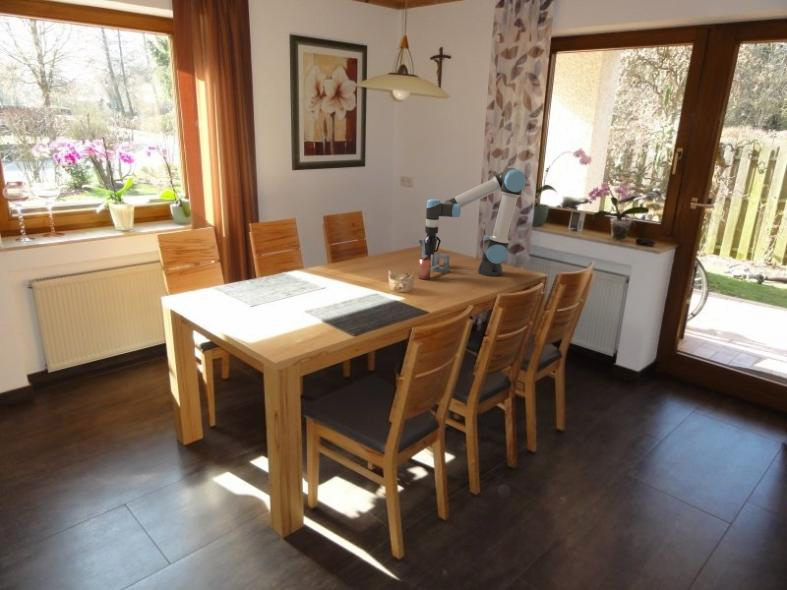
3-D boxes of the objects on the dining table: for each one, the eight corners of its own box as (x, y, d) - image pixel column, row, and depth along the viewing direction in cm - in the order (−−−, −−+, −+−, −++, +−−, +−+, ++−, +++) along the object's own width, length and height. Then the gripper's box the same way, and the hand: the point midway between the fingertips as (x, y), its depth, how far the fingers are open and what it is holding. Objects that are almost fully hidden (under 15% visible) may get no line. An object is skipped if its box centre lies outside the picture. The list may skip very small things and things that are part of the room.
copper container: (443, 272, 337) (444, 253, 334) (426, 279, 320) (427, 260, 316) (433, 270, 341) (434, 251, 337) (416, 277, 323) (417, 258, 320)
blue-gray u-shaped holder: (450, 271, 342) (451, 254, 338) (445, 273, 337) (447, 256, 334) (436, 268, 347) (437, 252, 343) (431, 270, 342) (432, 253, 339)
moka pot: (413, 264, 355) (415, 233, 349) (434, 262, 361) (436, 232, 355) (420, 268, 347) (422, 236, 341) (442, 266, 353) (444, 235, 347)
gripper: (431, 223, 328) (429, 262, 335) (420, 226, 317) (418, 266, 324) (442, 225, 324) (440, 264, 331) (432, 228, 313) (429, 268, 320)
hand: (429, 265), depth 328 cm, fingers closed
